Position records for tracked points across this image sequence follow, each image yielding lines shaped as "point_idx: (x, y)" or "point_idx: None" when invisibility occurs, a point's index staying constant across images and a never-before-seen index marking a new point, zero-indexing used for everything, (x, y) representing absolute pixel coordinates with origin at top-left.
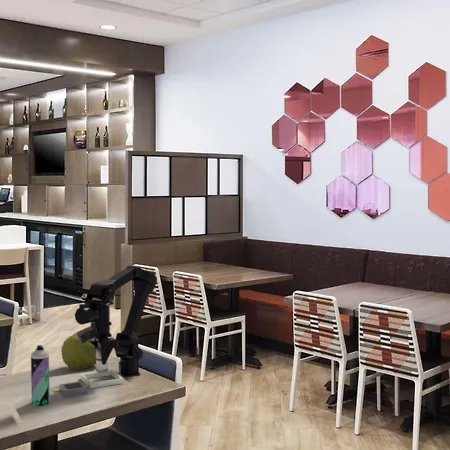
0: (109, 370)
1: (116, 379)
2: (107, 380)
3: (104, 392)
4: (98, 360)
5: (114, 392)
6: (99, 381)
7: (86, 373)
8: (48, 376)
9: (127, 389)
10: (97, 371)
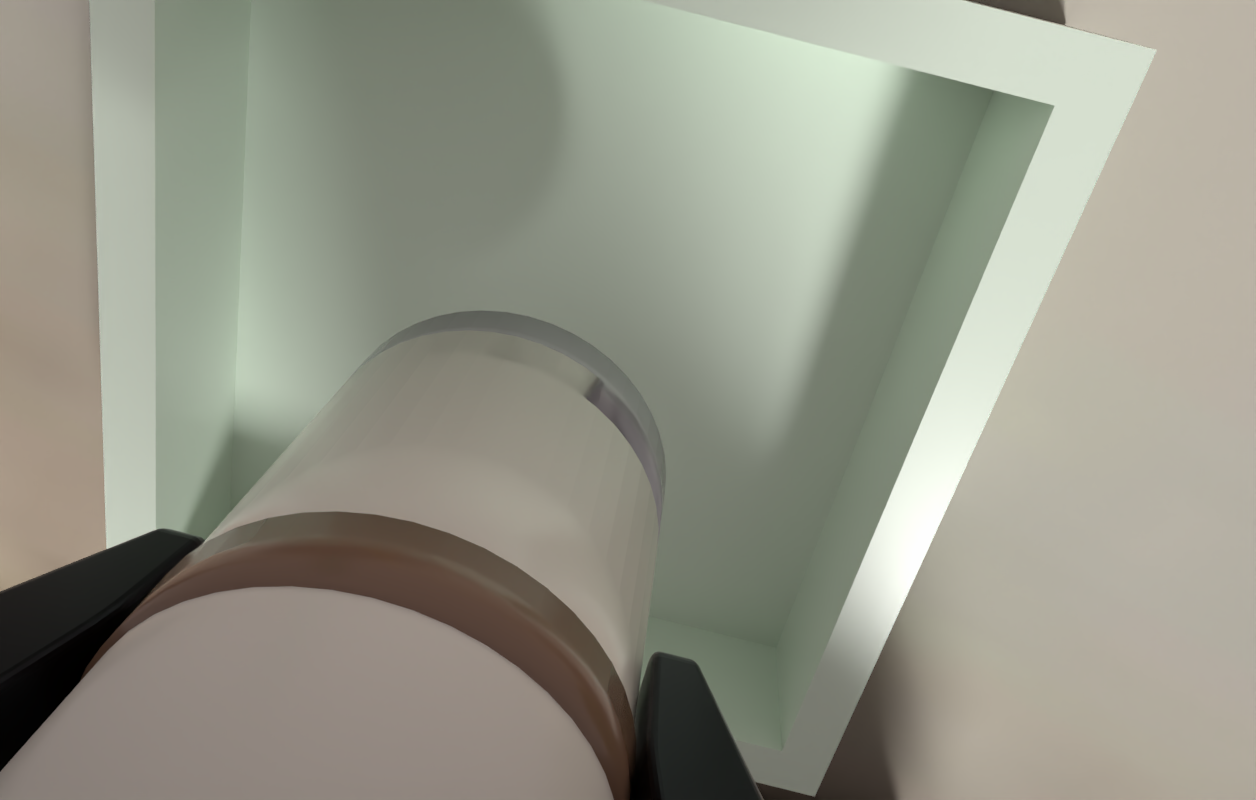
0: (821, 730)
1: (120, 497)
2: (144, 319)
3: (91, 96)
4: (218, 539)
5: (9, 251)
6: (151, 119)
7: (1056, 231)
8: None
9: (78, 502)
10: (453, 323)
